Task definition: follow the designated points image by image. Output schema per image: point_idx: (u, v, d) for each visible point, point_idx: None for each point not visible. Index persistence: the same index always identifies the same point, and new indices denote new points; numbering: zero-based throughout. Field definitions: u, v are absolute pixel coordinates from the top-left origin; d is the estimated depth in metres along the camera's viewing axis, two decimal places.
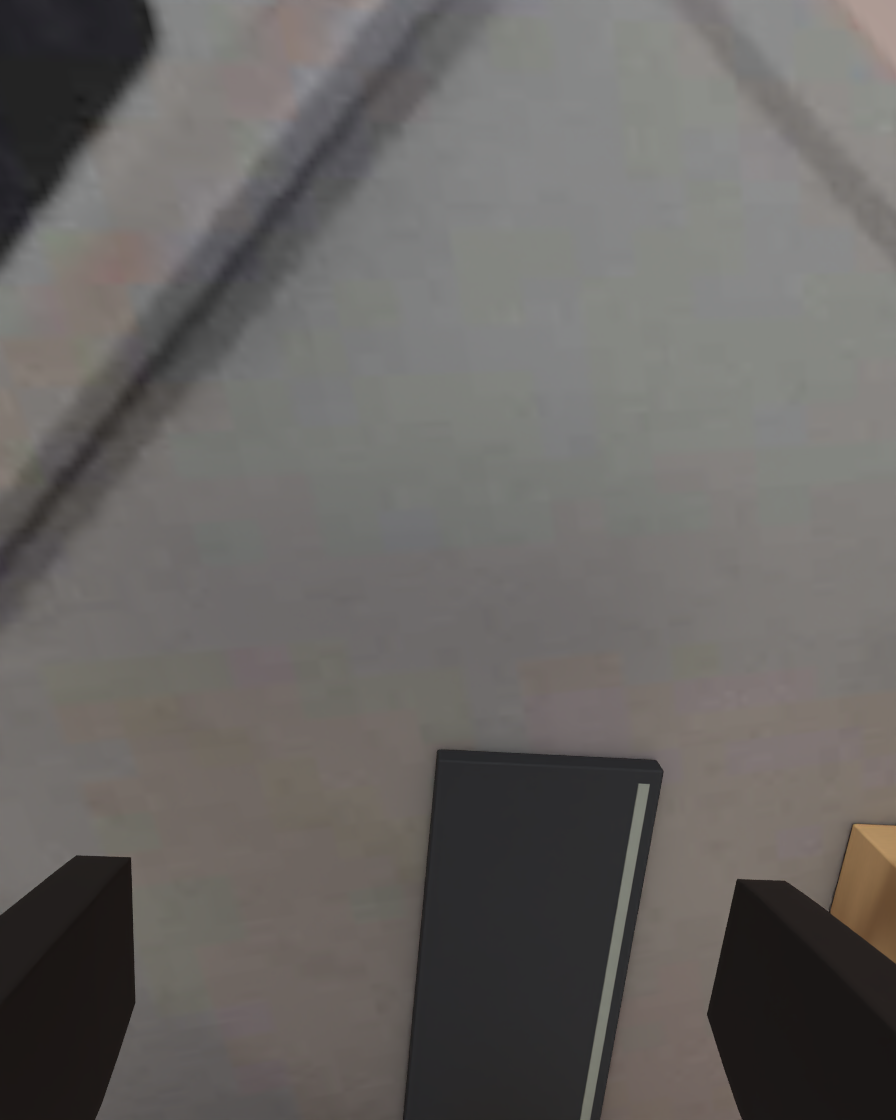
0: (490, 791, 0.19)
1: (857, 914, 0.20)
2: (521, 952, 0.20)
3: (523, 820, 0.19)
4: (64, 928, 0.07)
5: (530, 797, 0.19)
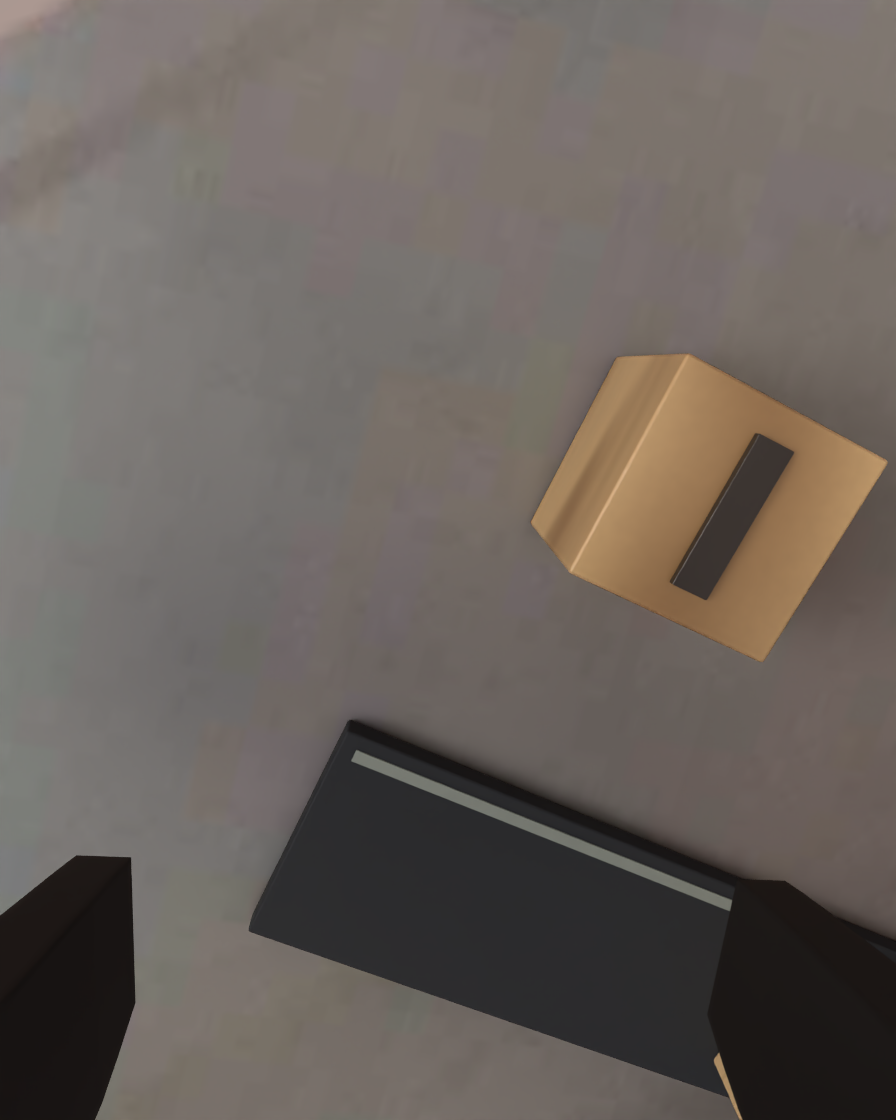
0: (302, 898, 0.18)
1: None
2: (512, 921, 0.18)
3: (349, 878, 0.17)
4: (65, 928, 0.07)
5: (325, 865, 0.17)
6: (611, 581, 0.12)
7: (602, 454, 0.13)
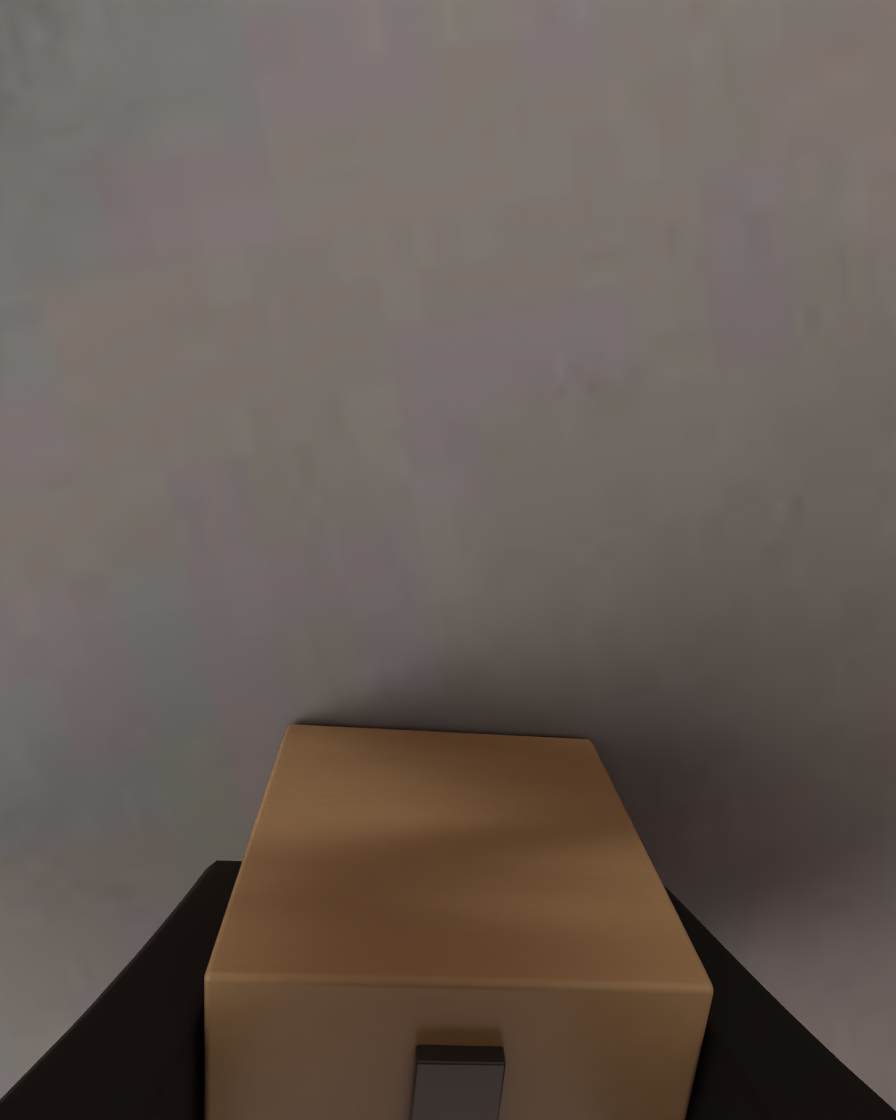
0: None
1: None
2: None
3: None
4: None
5: None
6: None
7: None
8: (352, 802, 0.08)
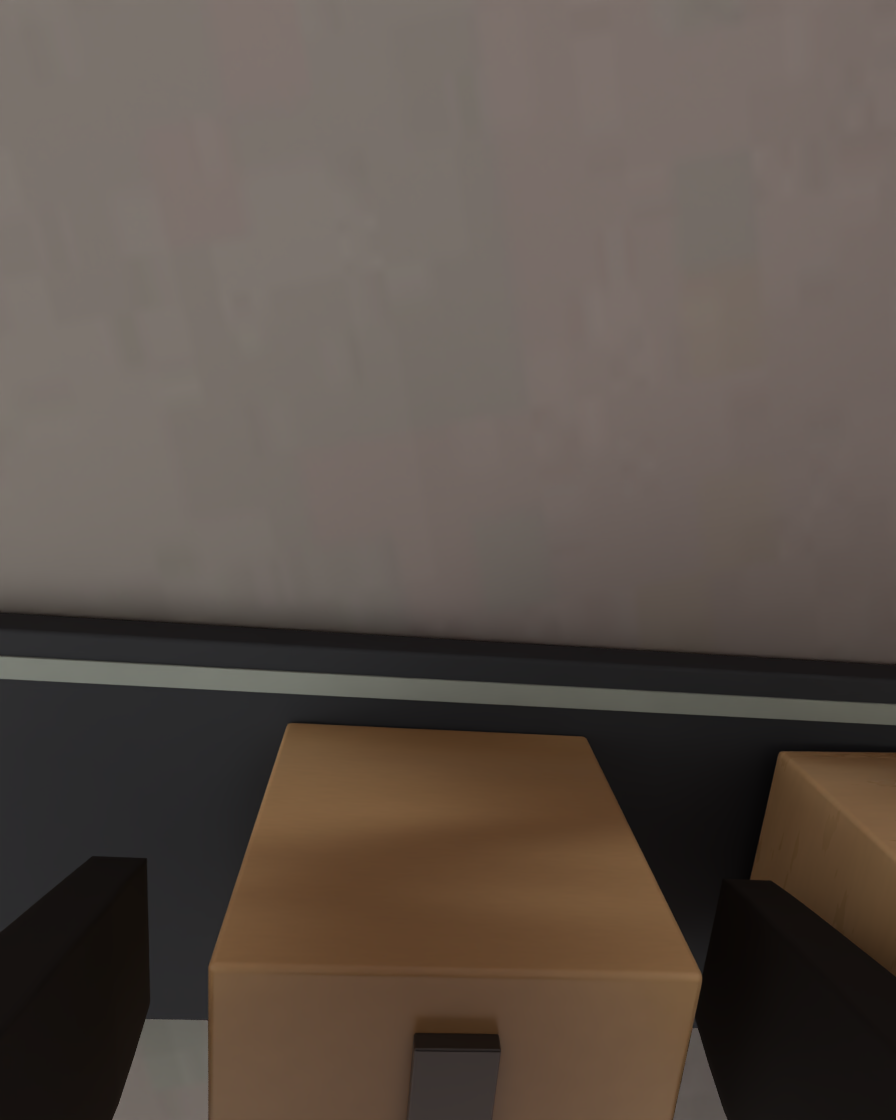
0: None
1: None
2: (227, 856, 0.10)
3: None
4: (84, 929, 0.07)
5: None
6: None
7: None
8: (351, 799, 0.08)
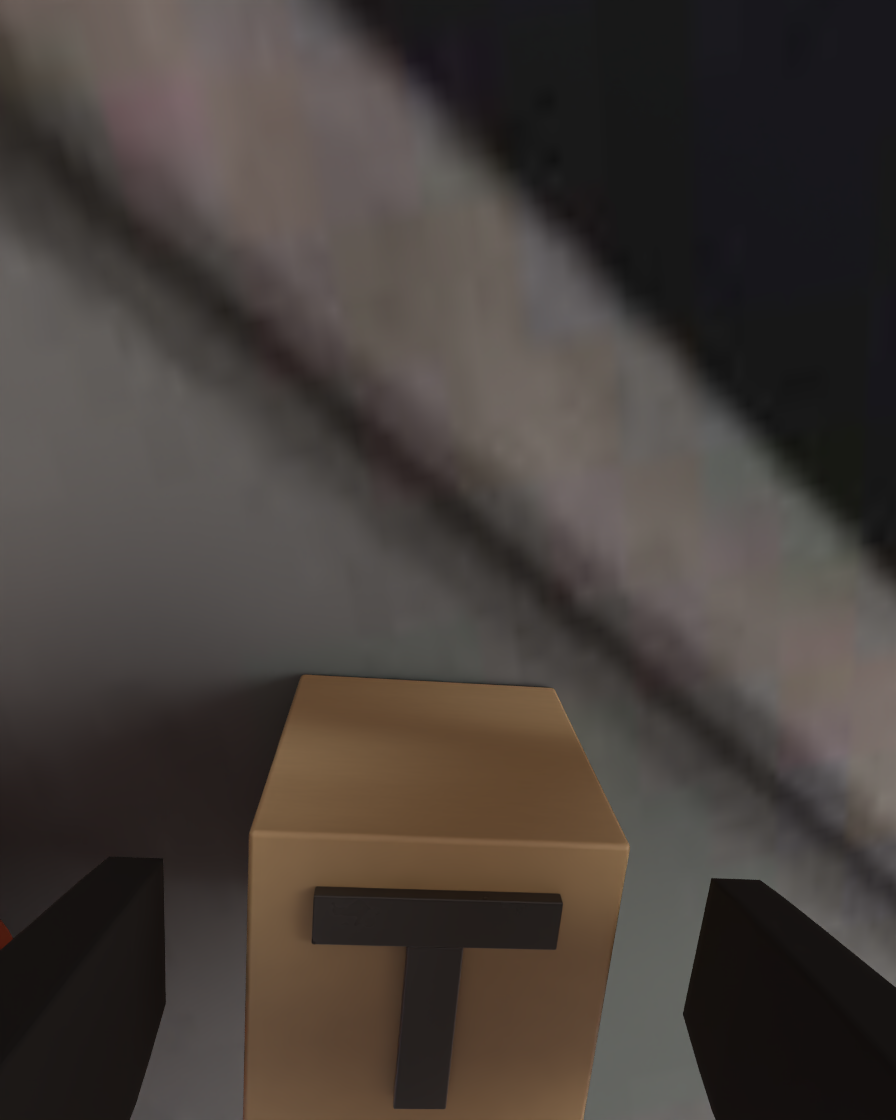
0: None
1: None
2: None
3: None
4: (104, 929, 0.07)
5: None
6: None
7: None
8: None
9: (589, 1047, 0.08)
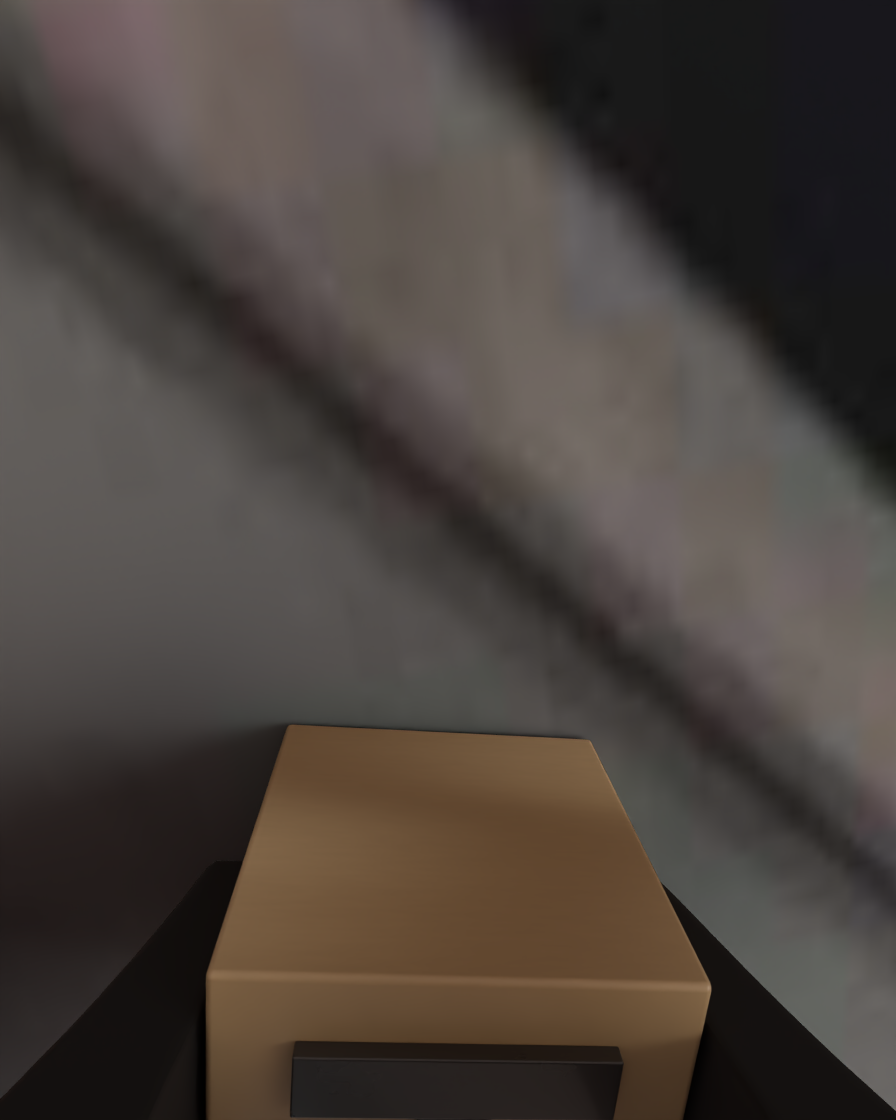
0: None
1: None
2: None
3: None
4: None
5: None
6: None
7: None
8: None
9: None
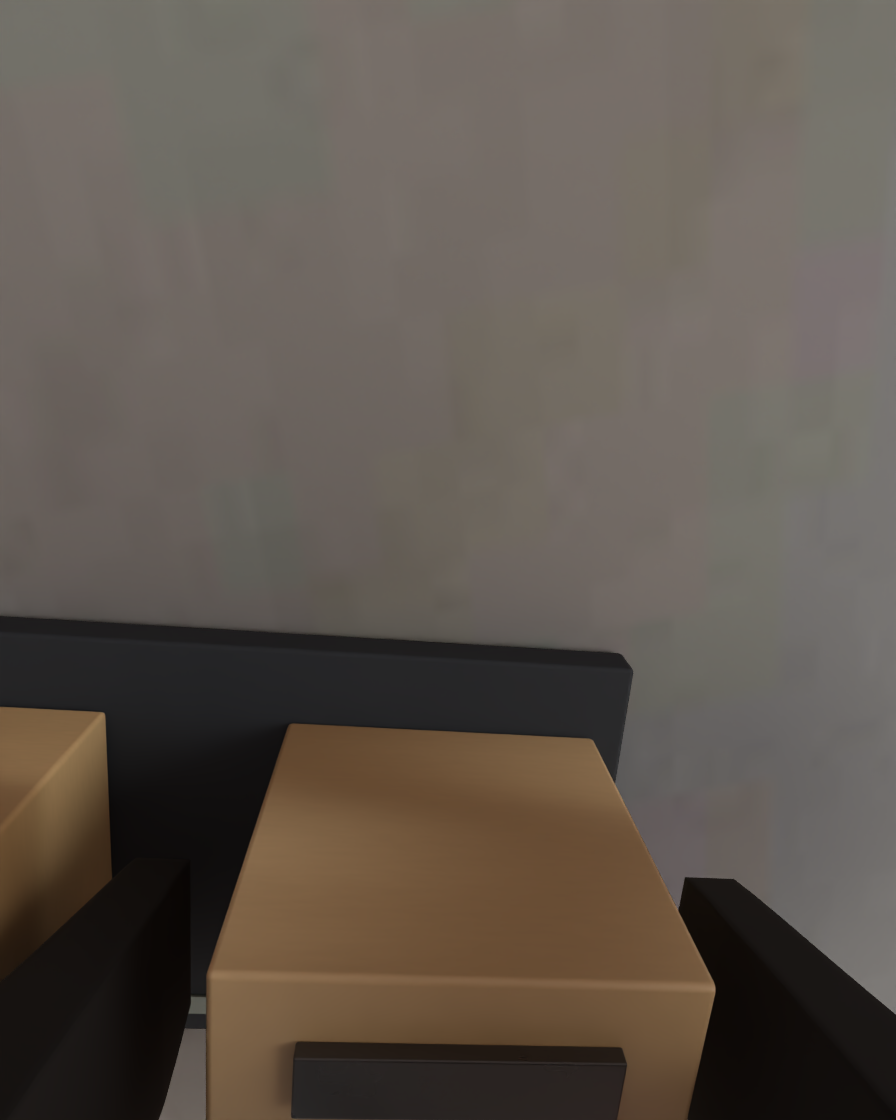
0: None
1: None
2: (171, 841, 0.10)
3: None
4: (137, 930, 0.07)
5: None
6: None
7: None
8: None
9: None
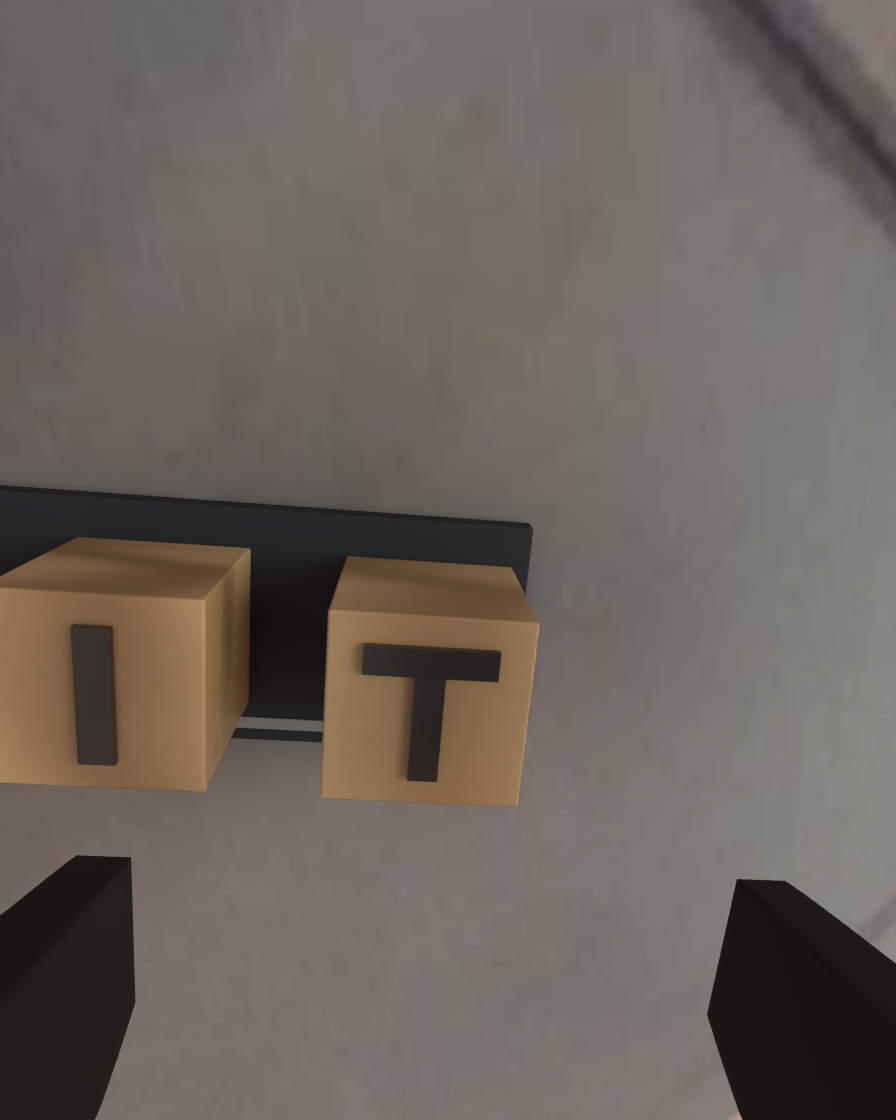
0: None
1: (140, 552, 0.16)
2: (281, 624, 0.18)
3: None
4: (64, 929, 0.07)
5: None
6: (162, 607, 0.13)
7: (224, 669, 0.15)
8: None
9: (520, 749, 0.14)
